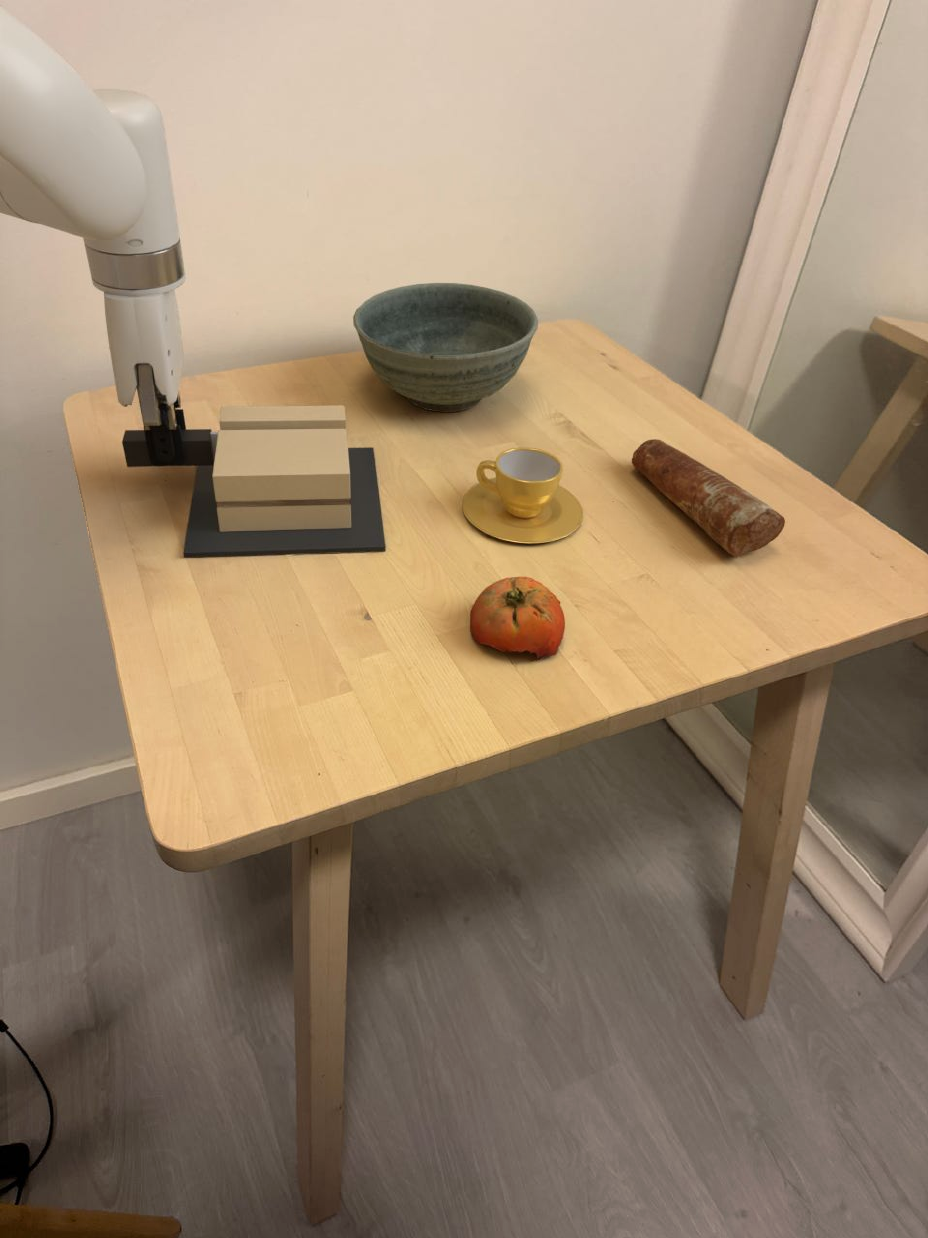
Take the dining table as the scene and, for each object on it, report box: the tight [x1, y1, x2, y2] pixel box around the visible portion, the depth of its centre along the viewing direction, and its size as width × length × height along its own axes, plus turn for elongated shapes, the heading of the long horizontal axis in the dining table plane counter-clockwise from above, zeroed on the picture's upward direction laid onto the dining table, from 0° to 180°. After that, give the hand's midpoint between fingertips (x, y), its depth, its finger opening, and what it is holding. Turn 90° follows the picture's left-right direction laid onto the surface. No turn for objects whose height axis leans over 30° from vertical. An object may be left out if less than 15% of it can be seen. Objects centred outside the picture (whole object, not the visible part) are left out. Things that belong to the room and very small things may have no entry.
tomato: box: [469, 576, 566, 663], centre depth 75 cm, size 8×7×7 cm
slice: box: [219, 405, 347, 430], centre depth 90 cm, size 12×3×6 cm, turn 98°
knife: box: [121, 428, 218, 468], centre depth 87 cm, size 18×2×3 cm, turn 98°
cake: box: [182, 428, 387, 559], centre depth 87 cm, size 18×18×7 cm
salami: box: [631, 439, 786, 558], centre depth 90 cm, size 6×19×6 cm, turn 25°
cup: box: [461, 446, 584, 544], centre depth 88 cm, size 12×12×5 cm
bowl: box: [352, 282, 539, 413], centre depth 105 cm, size 21×21×10 cm
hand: (169, 454), depth 87 cm, fingers closed on knife, 2 cm apart
